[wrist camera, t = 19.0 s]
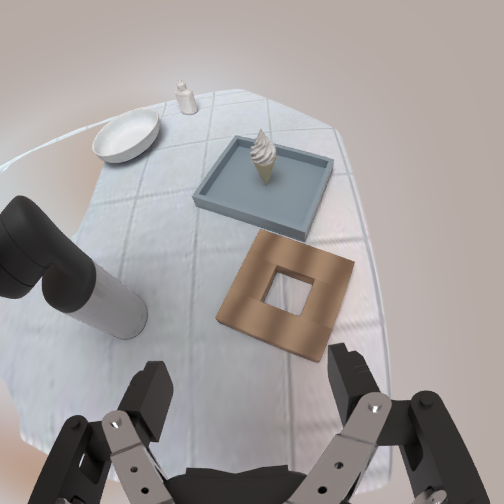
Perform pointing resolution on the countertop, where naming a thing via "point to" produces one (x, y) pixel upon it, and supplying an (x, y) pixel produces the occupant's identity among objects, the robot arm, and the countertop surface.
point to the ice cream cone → (263, 156)
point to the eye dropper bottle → (185, 99)
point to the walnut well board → (279, 321)
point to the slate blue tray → (266, 188)
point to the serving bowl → (127, 135)
